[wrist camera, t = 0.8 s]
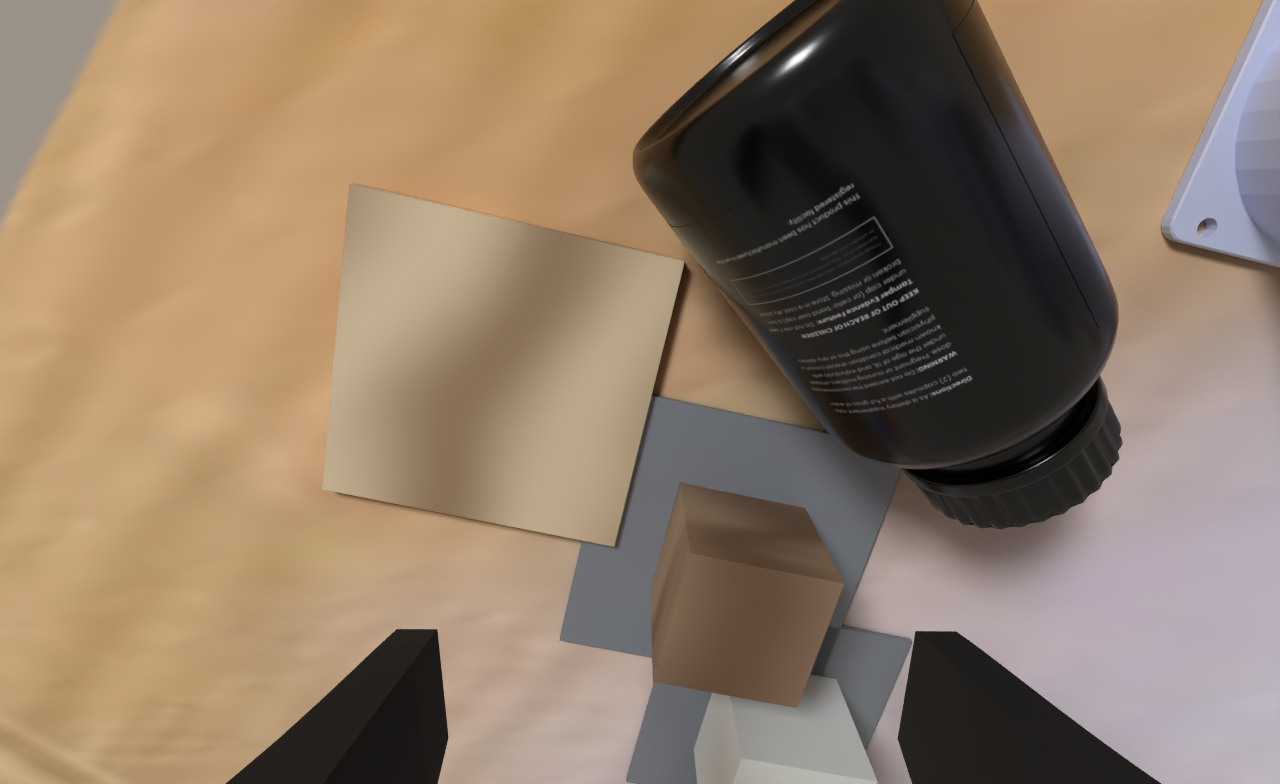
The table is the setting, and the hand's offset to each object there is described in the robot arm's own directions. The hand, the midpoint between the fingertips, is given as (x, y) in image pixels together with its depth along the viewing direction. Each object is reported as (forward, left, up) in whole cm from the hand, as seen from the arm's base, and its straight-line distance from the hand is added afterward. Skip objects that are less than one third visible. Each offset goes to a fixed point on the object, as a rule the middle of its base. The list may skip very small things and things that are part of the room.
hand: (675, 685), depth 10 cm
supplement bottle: (+1, -10, -6) cm, 12 cm away
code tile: (-3, +3, -10) cm, 11 cm away
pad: (+5, -1, -10) cm, 11 cm away
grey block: (-6, +9, -10) cm, 15 cm away
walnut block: (-3, +3, -10) cm, 11 cm away
